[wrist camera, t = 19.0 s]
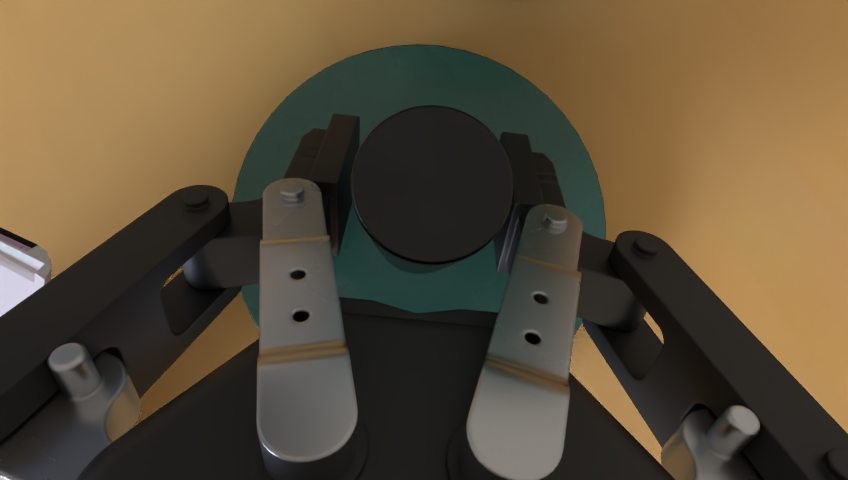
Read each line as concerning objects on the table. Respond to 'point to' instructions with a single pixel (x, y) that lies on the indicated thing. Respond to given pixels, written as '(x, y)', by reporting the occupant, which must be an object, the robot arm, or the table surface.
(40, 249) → the mobile phone
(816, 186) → the table surface
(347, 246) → the green pot lid
